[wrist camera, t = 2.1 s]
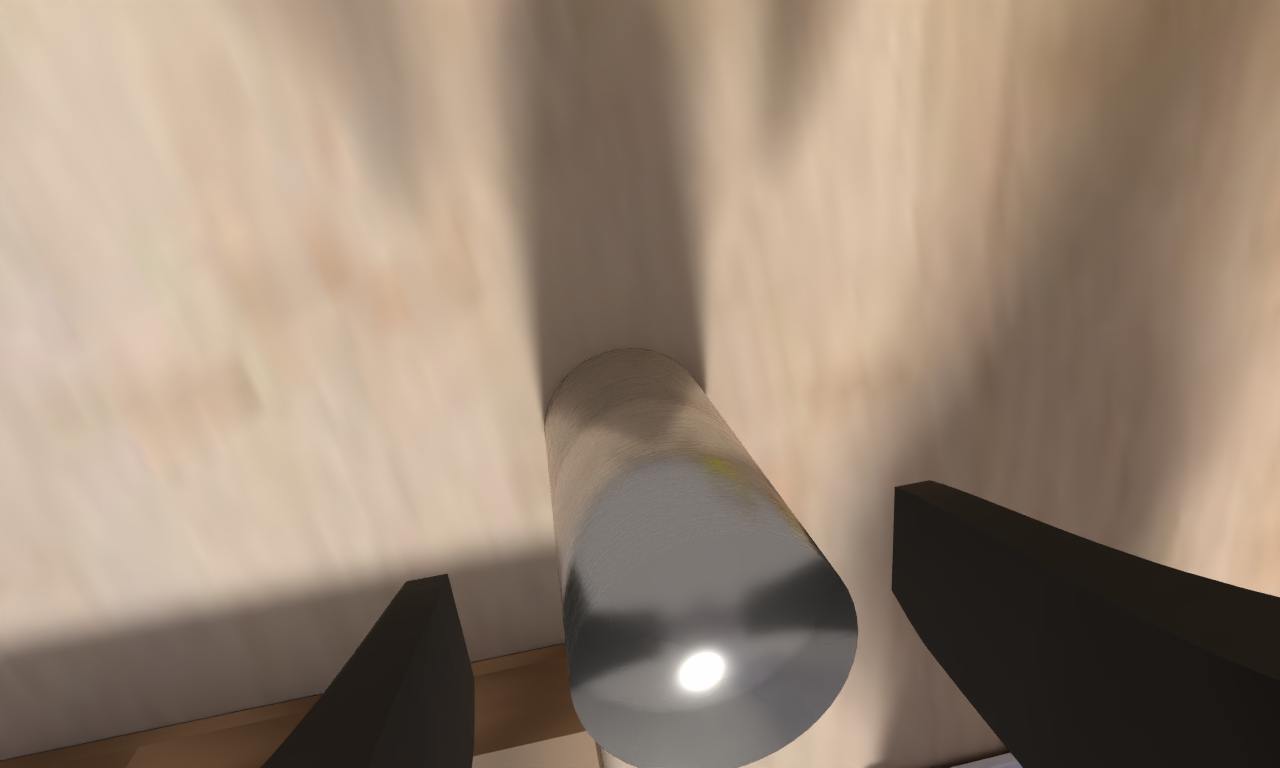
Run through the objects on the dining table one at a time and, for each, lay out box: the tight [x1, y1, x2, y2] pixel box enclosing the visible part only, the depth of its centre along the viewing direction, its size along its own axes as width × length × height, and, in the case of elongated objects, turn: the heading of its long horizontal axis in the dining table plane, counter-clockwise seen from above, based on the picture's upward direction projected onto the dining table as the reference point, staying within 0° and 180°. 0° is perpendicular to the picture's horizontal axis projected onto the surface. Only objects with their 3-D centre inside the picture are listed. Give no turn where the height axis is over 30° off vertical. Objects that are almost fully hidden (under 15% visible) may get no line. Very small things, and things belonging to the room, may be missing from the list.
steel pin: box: [545, 349, 858, 768], centre depth 13 cm, size 4×4×8 cm
